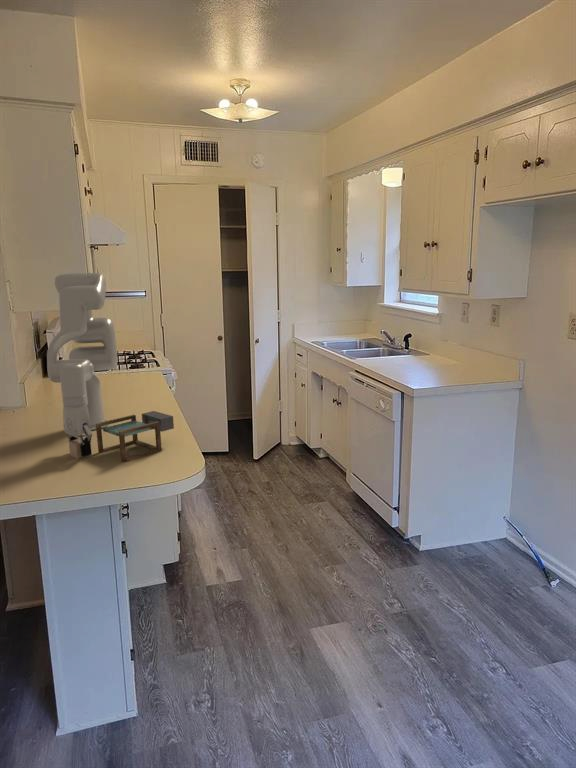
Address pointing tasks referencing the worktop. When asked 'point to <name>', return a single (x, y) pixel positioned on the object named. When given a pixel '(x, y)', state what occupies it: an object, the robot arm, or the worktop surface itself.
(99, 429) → the frame
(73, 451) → the pinkish beige cube
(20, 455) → the worktop surface
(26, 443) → the worktop surface
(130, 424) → the chair seat and backrest
